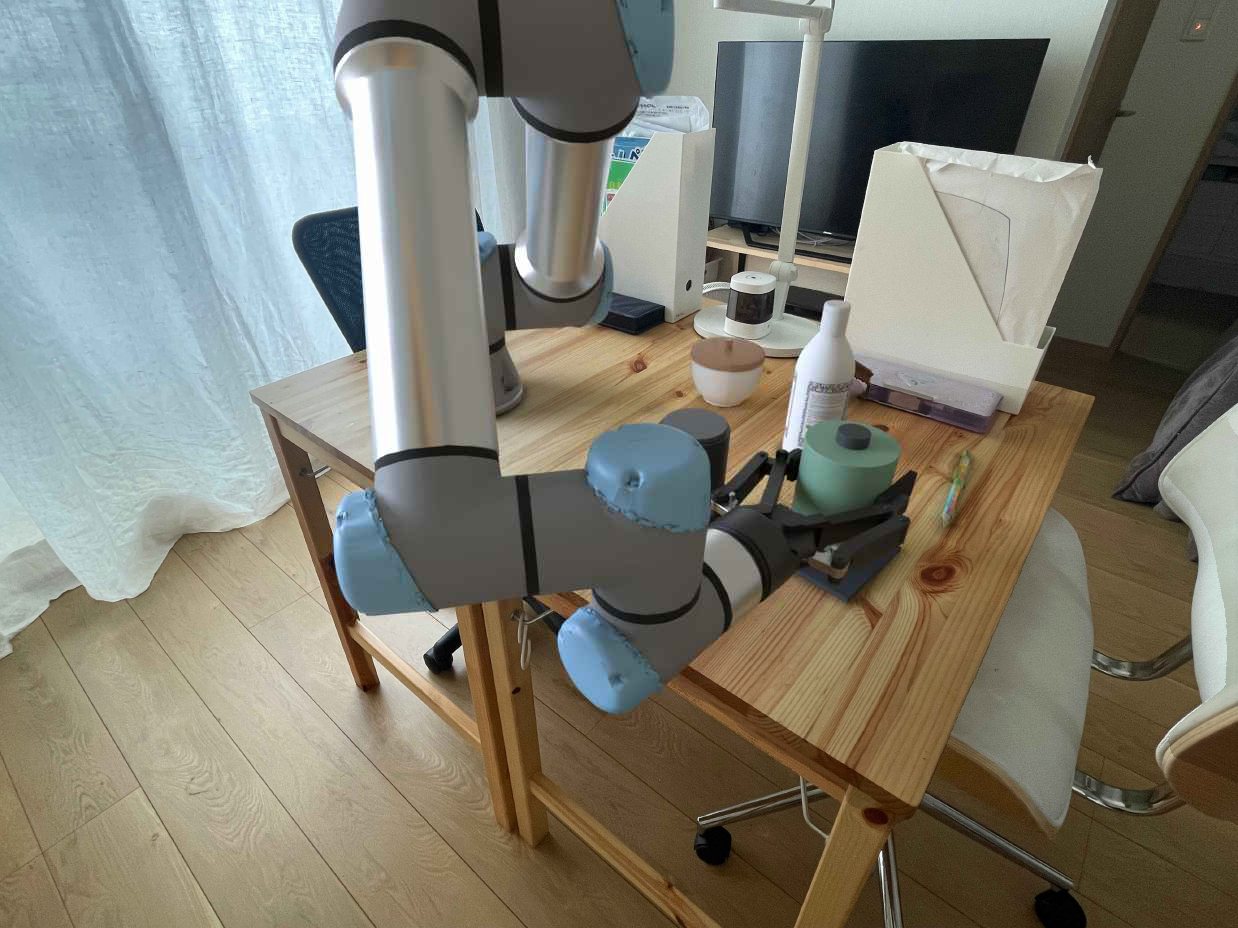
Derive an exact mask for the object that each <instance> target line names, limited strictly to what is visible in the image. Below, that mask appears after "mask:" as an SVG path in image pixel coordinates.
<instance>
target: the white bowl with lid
mask: <svg viewBox="0 0 1238 928" xmlns="http://www.w3.org/2000/svg"><path fill="white" fill-rule="evenodd" d="M690 357H691V358H690V373H691V374H690V375H691V378H692V384H693V386H694V388H695V389H696V391H697V392H698V394H700V396H702V398H703V400H704V401H705V402H706V403H708V404H709V405H712V406H716V407H721V408H732V407H737V406H739V405H741V404H743V402H744V401H745V400H746V399H748V398H749V397H750V396H751V395H752V394H753V393H754V392H755V391H756V390H757V387H758V384H759V383H760V380H761V378H762V373H763V369H764V364H765V360H766V351H765V349H764V348H763V346H761V345H760V344H758V343H757V342H754V341H751V340H748V339H745V338H740V337H734V336H714V337H713V336H712V337H706V338H702V339H700V340H698V341H696V342H695V343H694V344H693V345H692V346H691V349H690Z"/></svg>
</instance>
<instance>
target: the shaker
mask: <svg viewBox="0 0 1238 928" xmlns="http://www.w3.org/2000/svg"><path fill="white" fill-rule="evenodd" d="M658 424H663V425H667V426H671V427H674V428H677V429H680V430H682V431H684V432H686V433H687V434H689V435H690V436H692V437H694V438H695V439H696V440H697V441H698V442H699V443H700V444H701V445H702V447H703V449H704V450H705V451H706V452H707V455H708V458H709V462H710V480H711V489H710V503H711V493H712V491H713V490H715V489H717V488H719V487H721V486H724V485H726V476H727V466H728V459H729V451H730V441H731V435H732V434H731V433H732V429H731V426H730V424H729V422H728V421H727V420H726V419H725V417H723V416H722V415H721V414H719V413H717V412H715V411H713V410H709V409H706V408H700V407H684V408H679V409H675V410H672V411H670V412H668V413H667V414H666V415H665V416H664V417H662V418H661V419H660V421H659V423H658ZM716 519H718V518H715V517H712V516H711V515H710V521H709V523H708V525H709V524H710V523H712V522H713V521H715V520H716Z"/></svg>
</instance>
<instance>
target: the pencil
mask: <svg viewBox="0 0 1238 928" xmlns="http://www.w3.org/2000/svg"><path fill="white" fill-rule="evenodd" d="M974 456H975V455H974V452H973V450H969V449H966V450H964V451H963V452H962V455H961V458H960V461H959V464H958V468H957V471H956V473H955V477H954V479H953V483H952V485H951V488H950V491H949V493H948V497H947V499H946V502H945V505H944V508H943V512H942V515H941V520H942V525H943V526H942V527H943V529H945V528H947V527H948V526H949V525H950V524H951V522H953V521H954V519H955V516H956V511H957V508H958V505H959V502H960V498H961V495H962V492H963V489H964V486H965V484H966V479H967V477H968V473H969V470H970V467H971V464H972V462H973V458H974Z"/></svg>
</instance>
